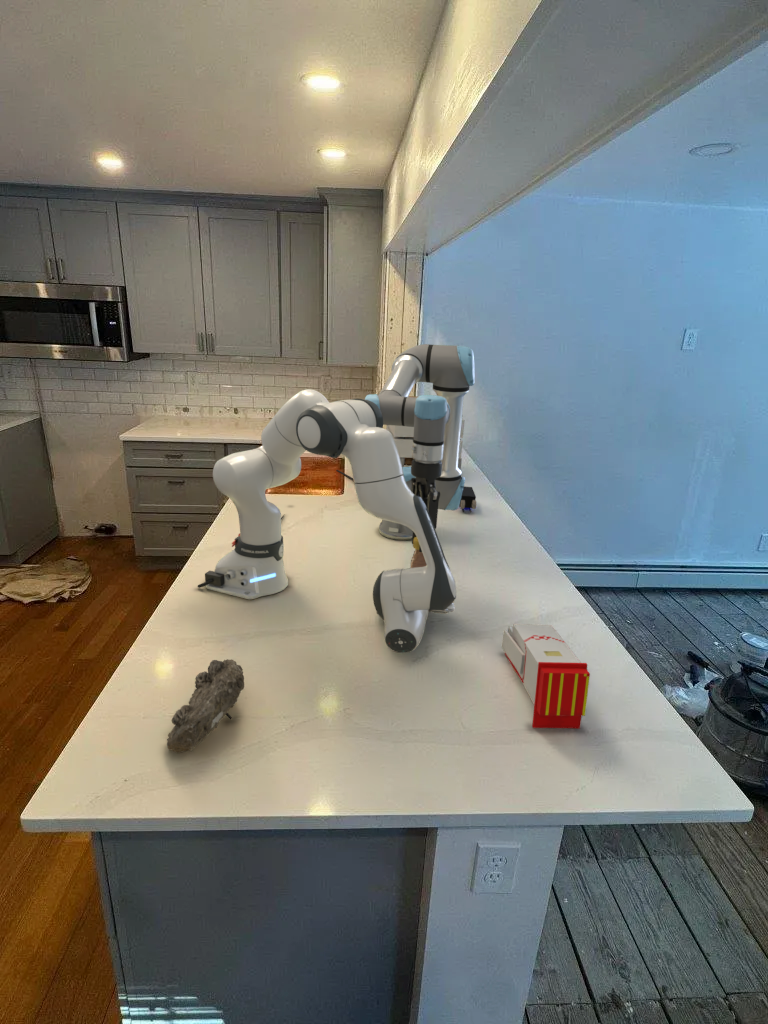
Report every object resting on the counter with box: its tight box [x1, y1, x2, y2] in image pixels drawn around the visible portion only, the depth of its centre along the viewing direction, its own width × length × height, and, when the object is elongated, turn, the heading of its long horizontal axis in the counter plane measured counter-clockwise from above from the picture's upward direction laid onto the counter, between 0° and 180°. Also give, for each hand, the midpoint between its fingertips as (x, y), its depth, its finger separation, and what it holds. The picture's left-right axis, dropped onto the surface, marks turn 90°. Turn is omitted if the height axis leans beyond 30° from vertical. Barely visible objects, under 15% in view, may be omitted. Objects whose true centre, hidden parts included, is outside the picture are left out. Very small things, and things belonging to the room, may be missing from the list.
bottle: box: [409, 548, 427, 568], centre depth 150 cm, size 5×5×18 cm
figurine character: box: [458, 485, 477, 514], centre depth 227 cm, size 7×8×15 cm
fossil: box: [166, 658, 245, 754], centre depth 106 cm, size 22×10×15 cm
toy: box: [501, 623, 591, 729], centre depth 120 cm, size 12×13×30 cm
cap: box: [412, 537, 420, 550], centre depth 147 cm, size 4×4×2 cm
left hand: (418, 582), depth 151 cm, fingers closed on bottle, 5 cm apart
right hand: (420, 547), depth 147 cm, fingers open, 4 cm apart
